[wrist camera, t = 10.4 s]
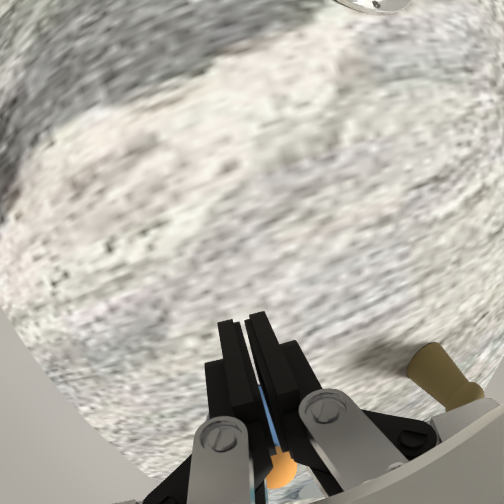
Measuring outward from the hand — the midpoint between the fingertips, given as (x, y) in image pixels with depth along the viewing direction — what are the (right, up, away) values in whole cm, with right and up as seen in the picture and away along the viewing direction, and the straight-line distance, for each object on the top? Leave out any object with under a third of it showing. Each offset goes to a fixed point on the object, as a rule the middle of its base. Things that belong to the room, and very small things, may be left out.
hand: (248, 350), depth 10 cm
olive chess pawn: (+23, -11, +23) cm, 34 cm away
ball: (+3, -23, +19) cm, 30 cm away
